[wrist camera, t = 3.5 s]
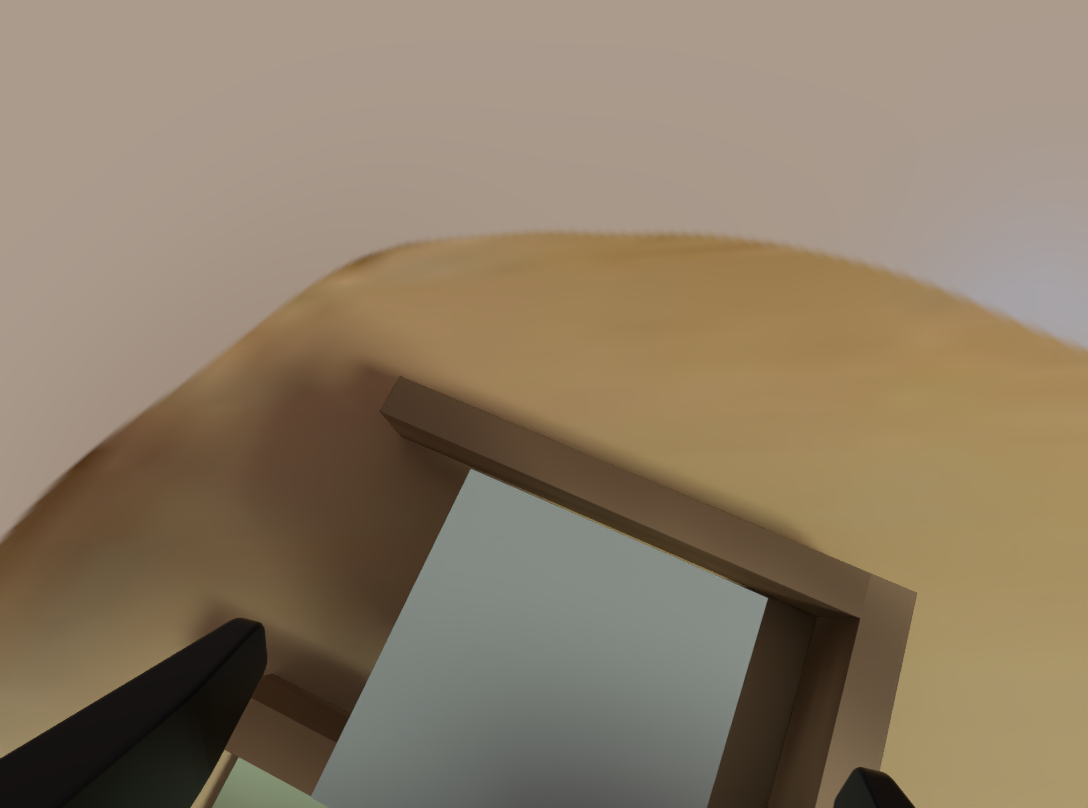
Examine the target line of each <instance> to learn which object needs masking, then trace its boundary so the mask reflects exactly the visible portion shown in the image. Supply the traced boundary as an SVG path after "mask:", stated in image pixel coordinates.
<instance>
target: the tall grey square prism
mask: <svg viewBox="0 0 1088 808" xmlns="http://www.w3.org/2000/svg"><path fill="white" fill-rule="evenodd" d="M767 600H768V598H767V597H764V596H762V595H760V594H757V593H755V592H753V591H750V590H748V589H746V588H744V587H741V586H739V585H737V584H734V583H732V582H730V581H728V580H725V579H723V578H721V577H718V576H716V575H714V574H711V573H709V572H707V571H705V570H702V569H700V568H698V567H695V566H693V565H691V564H688V563H686V562H684V561H682V560H679V559H677V558H675V557H672V556H670V555H668V554H666V553H663V552H661V551H659V550H656V549H654V548H652V547H649V546H647V545H645V544H643V543H640V542H638V541H636V540H633V539H631V538H629V537H626V536H624V535H622V534H620V533H617V532H615V531H613V530H610V529H608V528H606V527H603V526H601V525H599V524H597V523H594V522H592V521H590V520H587V519H585V518H583V517H581V516H578V515H576V514H574V513H571V512H569V511H567V510H564V509H562V508H560V507H558V506H555V505H553V504H551V503H548V502H546V501H544V500H541V499H539V498H537V497H535V496H532V495H530V494H528V493H525V492H523V491H521V490H519V489H516V488H514V487H512V486H509V485H507V484H505V483H502V482H500V481H498V480H496V479H493V478H491V477H489V476H486V475H484V474H482V473H479V472H477V471H475V470H473V469H470V471H469V473H468V476H467V478H466V480H465V482H464V484H463V486H462V488H461V490H460V492H459V494H458V496H457V498H456V500H455V502H454V504H453V506H452V508H451V510H450V512H449V514H448V517H447V519H446V521H445V523H444V525H443V527H442V529H441V531H440V533H439V535H438V537H437V539H436V541H435V543H434V545H433V547H432V549H431V551H430V553H429V555H428V558H427V560H426V562H425V564H424V566H423V568H422V570H421V572H420V574H419V576H418V578H417V580H416V582H415V584H414V586H413V588H412V590H411V592H410V594H409V596H408V599H407V601H406V603H405V605H404V607H403V609H402V611H401V613H400V615H399V617H398V619H397V621H396V623H395V625H394V627H393V629H392V631H391V633H390V635H389V637H388V640H387V642H386V644H385V646H384V648H383V650H382V652H381V654H380V656H379V658H378V660H377V662H376V664H375V666H374V668H373V670H372V672H371V674H370V676H369V678H368V681H367V683H366V685H365V687H364V689H363V691H362V693H361V695H360V697H359V699H358V701H357V703H356V705H355V707H354V709H353V711H352V713H351V715H350V717H349V719H348V722H347V724H346V726H345V728H344V730H343V732H342V734H341V736H340V738H339V740H338V742H337V744H336V746H335V748H334V750H333V752H332V754H331V756H330V758H329V760H328V763H327V765H326V767H325V769H324V771H323V773H322V775H321V777H320V779H319V781H318V783H317V785H316V787H315V789H314V791H313V793H312V795H311V798H312V799H314V800H316V801H318V802H320V803H322V804H323V805H325V806H327V807H329V808H707V806H708V802H709V799H710V796H711V792H712V789H713V785H714V782H715V778H716V775H717V772H718V768H719V765H720V761H721V758H722V754H723V751H724V748H725V744H726V741H727V737H728V734H729V730H730V727H731V724H732V720H733V717H734V713H735V710H736V706H737V703H738V700H739V696H740V693H741V689H742V686H743V682H744V679H745V676H746V672H747V669H748V665H749V662H750V658H751V655H752V652H753V648H754V645H755V641H756V638H757V634H758V631H759V628H760V624H761V621H762V617H763V614H764V611H765V607H766V604H767Z"/></svg>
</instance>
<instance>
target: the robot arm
mask: <svg viewBox="0 0 1088 808" xmlns="http://www.w3.org/2000/svg"><path fill="white" fill-rule="evenodd" d="M266 665H267V649H266V639H265V629H264V626H263V625H262V623H260V622H257V621H252V620H248V619H244V618H236V619H233V620H231V621H229V622H227V623H226V624H224V625H222V626H221V627H219V628H217V629H216V630H214V631H212V632H211V633H209V634H207V635H206V636H204V637H202V638H201V639H199V640H197V641H196V642H194V643H192V644H191V645H189V646H187V647H186V648H184V649H182V650H181V651H179V652H177V653H176V654H174V655H172V656H171V657H169V658H167V659H166V660H164V661H162V662H161V663H159V664H157V665H156V666H154V667H152V668H151V669H149V670H147V671H146V672H144V673H142V674H141V675H139V676H137V677H136V678H134V679H132V680H131V681H129V682H127V683H126V684H124V685H122V686H121V687H119V688H117V689H116V690H114V691H112V692H111V693H109V694H107V695H106V696H104V697H102V698H101V699H99V700H97V701H96V702H94V703H92V704H91V705H89V706H87V707H86V708H84V709H82V710H81V711H79V712H77V713H76V714H74V715H72V716H71V717H69V718H67V719H66V720H64V721H62V722H61V723H59V724H57V725H56V726H54V727H52V728H51V729H49V730H47V731H46V732H44V733H42V734H41V735H39V736H37V737H36V738H34V739H32V740H31V741H29V742H27V743H26V744H24V745H22V746H21V747H19V748H17V749H16V750H14V751H12V752H11V753H9V754H7V755H5V756H4V757H2V758H0V808H190V807H191V806H192V804H193V803H194V801H195V800H196V798H197V796H198V795H199V793H200V792H201V790H202V788H203V787H204V785H205V784H206V782H207V780H208V779H209V777H210V775H211V773H212V772H213V770H214V768H215V766H216V764H217V762H218V761H219V759H220V757H221V755H222V753H223V751H224V749H225V747H226V745H227V743H228V741H229V739H230V738H231V736H232V734H233V732H234V730H235V728H236V726H237V724H238V722H239V720H240V718H241V716H242V714H243V712H244V711H245V709H246V707H247V705H248V703H249V701H250V699H251V697H252V695H253V693H254V691H255V689H256V687H257V685H258V683H259V682H260V680H261V678H262V676H263V674H264V671H265V668H266ZM833 808H915V807H914V805H913V804H912V803H911V801H910V800H909V799H908V798H907V796H906V795H905V794H904V793H903V791H902V790H901V789H900V788H899V786H898V785H897V784H896V783H895V781H894V780H893V779H892V778H891V777H890V776H889V775H887V774H886V773H883V772H880V771H876V770H872V769H868V768H864V767H857V768H855V769H854V770H853V771H852V772H851V774H850V775H849V777H848V779H847V780H846V782H845V783H844V785H843V786H842V788H841V789H840V791H839V793H838V794H837V796H836V798H835V801H834V806H833Z"/></svg>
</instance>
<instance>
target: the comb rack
mask: <svg viewBox="0 0 1088 808" xmlns="http://www.w3.org/2000/svg"><path fill="white" fill-rule="evenodd" d="M380 412H381V413H382V415H383V416H384V417H385V418H386V419H387V420H388V422H389V423H390V424H391V425H392V426H393V427H394V429H395V430H396V431H397V432H398V433H399V435H400V436H402V437H405V438H407V439H409V440H412V441H414V442H416V443H419V444H421V445H423V446H425V447H428V448H430V449H432V450H435V451H437V452H439V453H442V454H444V455H446V456H448V457H451V458H453V459H455V460H458V461H460V462H462V463H465V464H467V465H469V466H471V467H474V468H476V469H478V470H481V471H483V472H485V473H488V474H490V475H492V476H494V477H497V478H499V479H501V480H504V481H506V482H508V483H511V484H513V485H515V486H517V487H520V488H522V489H524V490H527V491H529V492H531V493H534V494H536V495H538V496H540V497H543V498H545V499H547V500H550V501H552V502H554V503H557V504H559V505H561V506H563V507H566V508H568V509H570V510H573V511H575V512H577V513H580V514H582V515H584V516H586V517H589V518H591V519H593V520H596V521H598V522H600V523H603V524H605V525H607V526H609V527H612V528H614V529H616V530H619V531H621V532H623V533H626V534H628V535H630V536H632V537H635V538H637V539H639V540H642V541H644V542H646V543H649V544H651V545H653V546H655V547H658V548H660V549H662V550H665V551H667V552H669V553H672V554H674V555H676V556H678V557H681V558H683V559H685V560H688V561H690V562H692V563H695V564H697V565H699V566H701V567H704V568H706V569H708V570H711V571H713V572H715V573H718V574H720V575H722V576H724V577H727V578H729V579H731V580H734V581H736V582H738V583H741V584H743V585H745V586H747V587H750V588H752V589H754V590H757V591H759V592H761V593H764V594H766V595H768V596H770V597H773V598H775V599H777V600H780V601H782V602H784V603H787V604H789V605H791V606H793V607H796V608H798V609H800V610H803V611H805V612H807V613H810V614H812V615H814V616H816V617H817V619H816V623H815V627H814V630H813V634H812V638H811V642H810V646H809V649H808V653H807V657H806V661H805V665H804V669H803V672H802V676H801V680H800V684H799V688H798V691H797V695H796V699H795V703H794V707H793V710H792V714H791V718H790V722H789V726H788V729H787V733H786V737H785V741H784V745H783V749H782V752H781V756H780V760H779V764H778V768H777V771H776V775H775V779H774V783H773V787H772V790H771V794H770V798H769V802H768V806H767V808H833V806H834V801H835V798H836V796H837V794H838V793H839V791H840V789H841V788H842V786H843V785H844V783H845V782H846V780H847V779H848V777H849V775H850V774H851V772H852V771H853V770H854V769H855V768H857V767H864V768H868V769H872V770H876V771H880V766H881V761H882V757H883V752H884V747H885V743H886V738H887V733H888V728H889V724H890V719H891V714H892V709H893V705H894V700H895V695H896V690H897V686H898V681H899V676H900V672H901V667H902V662H903V657H904V653H905V648H906V643H907V638H908V634H909V629H910V624H911V620H912V615H913V610H914V605H915V601H916V596H917V593H916V592H914V591H912V590H909V589H907V588H904V587H902V586H900V585H897V584H895V583H893V582H890V581H888V580H885V579H883V578H881V577H878V576H876V575H873V574H871V573H869V572H866V571H864V570H861V569H859V568H857V567H854V566H852V565H850V564H847V563H845V562H842V561H840V560H838V559H835V558H833V557H830V556H828V555H826V554H823V553H821V552H819V551H816V550H814V549H811V548H809V547H807V546H804V545H802V544H799V543H797V542H795V541H792V540H790V539H787V538H785V537H783V536H780V535H778V534H776V533H773V532H771V531H768V530H766V529H764V528H761V527H759V526H756V525H754V524H752V523H749V522H747V521H745V520H742V519H740V518H737V517H735V516H733V515H730V514H728V513H725V512H723V511H721V510H718V509H716V508H713V507H711V506H709V505H706V504H704V503H702V502H699V501H697V500H694V499H692V498H690V497H687V496H685V495H682V494H680V493H678V492H675V491H673V490H671V489H668V488H666V487H663V486H661V485H659V484H656V483H654V482H651V481H649V480H647V479H644V478H642V477H639V476H637V475H635V474H632V473H630V472H628V471H625V470H623V469H620V468H618V467H616V466H613V465H611V464H608V463H606V462H604V461H601V460H599V459H597V458H594V457H592V456H589V455H587V454H585V453H582V452H580V451H577V450H575V449H573V448H570V447H568V446H565V445H563V444H561V443H558V442H556V441H554V440H551V439H549V438H546V437H544V436H542V435H539V434H537V433H534V432H532V431H530V430H527V429H525V428H523V427H520V426H518V425H515V424H513V423H511V422H508V421H506V420H503V419H501V418H499V417H496V416H494V415H491V414H489V413H487V412H484V411H482V410H480V409H477V408H475V407H472V406H470V405H468V404H465V403H463V402H460V401H458V400H456V399H453V398H451V397H449V396H446V395H444V394H441V393H439V392H437V391H434V390H432V389H429V388H427V387H425V386H422V385H420V384H417V383H415V382H413V381H410V380H408V379H406V378H403V377H401V376H399V378H398V380H397V382H396V383H395V385H394V387H393V389H392V391H391V392H390V394H389V396H388V398H387V399H386V401H385V403H384V405H383V407H382V408H381V410H380ZM350 715H351V714H349V713H347V712H345V711H343V710H341V709H339V708H337V707H335V706H333V705H331V704H329V703H327V702H325V701H323V700H321V699H320V698H318V697H316V696H314V695H312V694H310V693H308V692H306V691H304V690H302V689H300V688H298V687H296V686H294V685H292V684H290V683H289V682H287V681H285V680H283V679H281V678H279V677H277V676H275V675H273V674H270V675H265V676H262V678H261V680H260V682H259V683H258V685H257V687H256V689H255V691H254V693H253V695H252V697H251V699H250V701H249V703H248V705H247V707H246V709H245V711H244V712H243V714H242V716H241V718H240V720H239V722H238V724H237V726H236V728H235V730H234V732H233V734H232V736H231V738H230V739H229V741H228V743H227V745H226V747H225V750H226V751H228V752H230V753H232V754H234V755H236V756H237V757H239V758H238V760H237V761H236V763H235V765H234V767H233V769H232V771H231V773H230V775H229V776H228V778H227V780H226V782H225V784H224V786H223V788H222V790H221V791H220V793H219V795H218V797H217V799H216V801H215V803H214V805H213V806H212V808H329V807H327V806H325V805H323V804H322V803H320V802H318V801H316V800H314V799H312V798H311V795H312V793H313V791H314V789H315V787H316V785H317V783H318V781H319V779H320V777H321V775H322V773H323V771H324V769H325V767H326V765H327V763H328V760H329V758H330V756H331V754H332V752H333V750H334V748H335V746H336V744H337V742H338V740H339V738H340V736H341V734H342V732H343V730H344V728H345V726H346V724H347V722H348V719H349V717H350Z"/></svg>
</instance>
